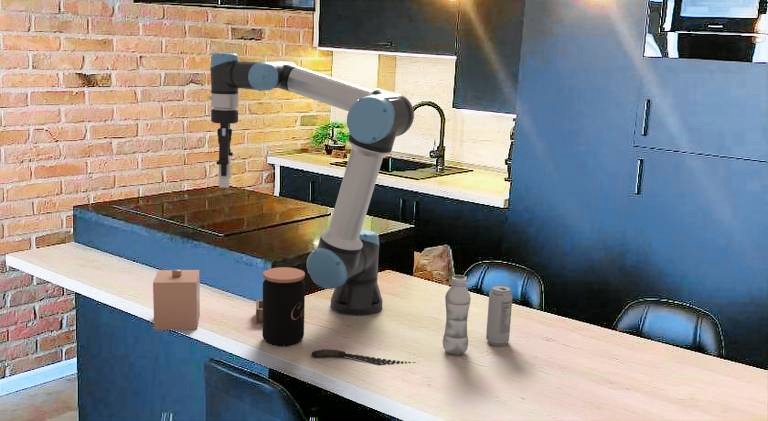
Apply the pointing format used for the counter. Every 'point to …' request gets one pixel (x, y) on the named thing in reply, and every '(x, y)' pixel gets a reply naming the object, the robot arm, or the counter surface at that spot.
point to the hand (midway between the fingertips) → (224, 182)
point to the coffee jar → (283, 306)
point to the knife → (352, 357)
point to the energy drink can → (499, 315)
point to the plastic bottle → (456, 316)
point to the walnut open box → (259, 311)
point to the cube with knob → (176, 299)
